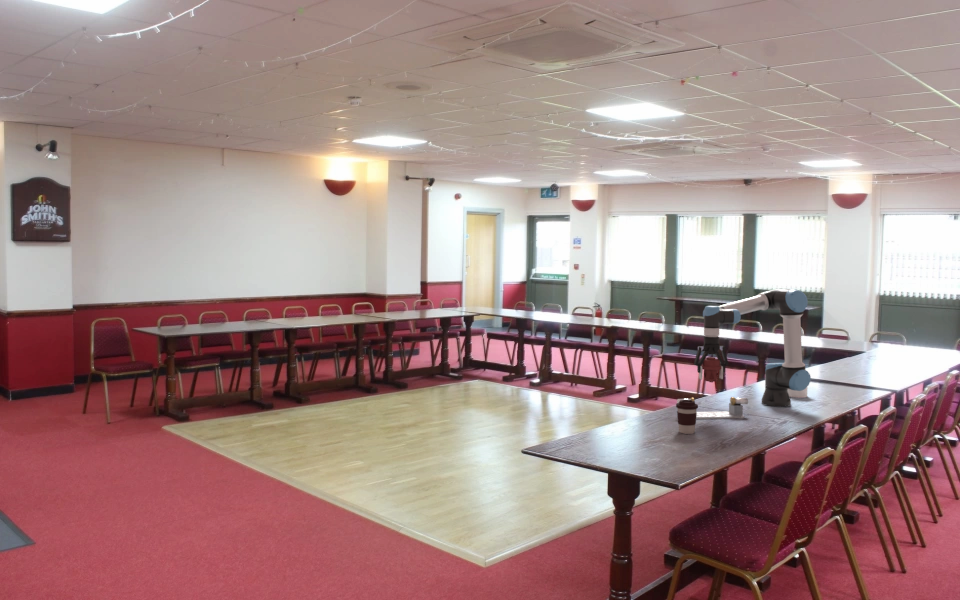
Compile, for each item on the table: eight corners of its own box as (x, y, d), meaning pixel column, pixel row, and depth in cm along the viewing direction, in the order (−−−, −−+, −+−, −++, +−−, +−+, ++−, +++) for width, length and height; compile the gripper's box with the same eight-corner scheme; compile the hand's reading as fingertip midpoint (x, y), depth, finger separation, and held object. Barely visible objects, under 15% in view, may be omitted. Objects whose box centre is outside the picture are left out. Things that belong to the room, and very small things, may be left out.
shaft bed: (742, 413, 396) (742, 394, 395) (751, 418, 384) (751, 399, 383) (674, 414, 395) (674, 395, 394) (681, 419, 383) (681, 400, 382)
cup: (781, 395, 441) (782, 375, 440) (791, 393, 449) (791, 373, 448) (801, 398, 432) (802, 378, 432) (810, 395, 440) (811, 375, 439)
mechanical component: (719, 379, 392) (722, 383, 382) (700, 379, 394) (701, 382, 384) (720, 356, 391) (722, 359, 382) (700, 356, 393) (701, 358, 384)
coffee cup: (701, 432, 356) (701, 400, 355) (690, 436, 349) (691, 404, 348) (682, 428, 363) (682, 398, 362) (671, 432, 356) (672, 401, 355)
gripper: (730, 334, 391) (729, 377, 392) (687, 335, 390) (687, 377, 392) (735, 336, 383) (735, 379, 385) (692, 337, 383) (691, 380, 384)
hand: (710, 378), depth 388 cm, fingers closed on mechanical component, 10 cm apart
